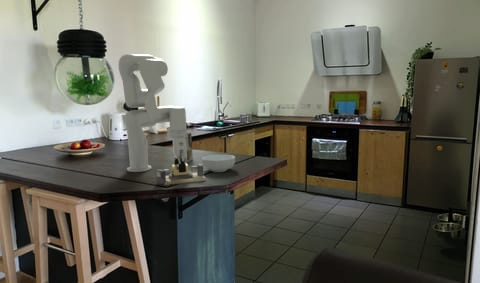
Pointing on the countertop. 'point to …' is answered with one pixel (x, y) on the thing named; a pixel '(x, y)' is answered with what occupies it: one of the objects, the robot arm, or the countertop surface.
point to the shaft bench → (192, 177)
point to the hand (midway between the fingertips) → (180, 169)
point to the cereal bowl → (218, 162)
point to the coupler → (176, 170)
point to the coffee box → (189, 147)
